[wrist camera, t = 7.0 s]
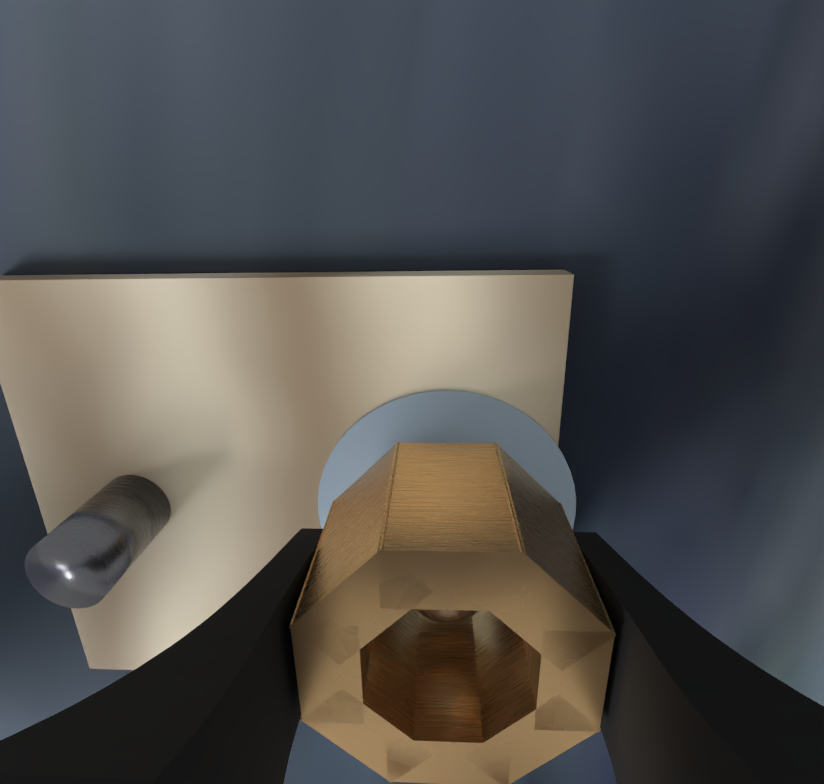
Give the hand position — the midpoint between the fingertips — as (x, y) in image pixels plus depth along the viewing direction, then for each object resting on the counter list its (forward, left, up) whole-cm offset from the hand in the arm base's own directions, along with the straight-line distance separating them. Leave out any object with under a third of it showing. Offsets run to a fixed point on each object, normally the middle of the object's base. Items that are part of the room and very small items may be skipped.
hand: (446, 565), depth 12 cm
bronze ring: (0, 0, -1) cm, 1 cm away
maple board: (-4, 0, -3) cm, 6 cm away
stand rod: (-9, 0, -2) cm, 9 cm away
